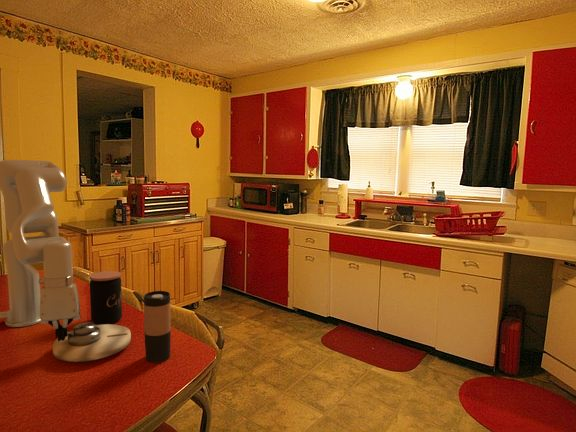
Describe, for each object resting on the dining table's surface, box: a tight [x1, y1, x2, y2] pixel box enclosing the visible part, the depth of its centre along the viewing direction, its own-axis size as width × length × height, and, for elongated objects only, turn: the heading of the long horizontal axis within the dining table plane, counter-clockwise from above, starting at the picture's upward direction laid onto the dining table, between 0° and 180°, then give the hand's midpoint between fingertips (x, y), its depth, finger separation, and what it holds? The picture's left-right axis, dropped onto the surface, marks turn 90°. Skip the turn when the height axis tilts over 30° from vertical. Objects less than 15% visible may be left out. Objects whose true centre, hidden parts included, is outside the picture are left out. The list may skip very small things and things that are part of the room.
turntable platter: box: [52, 324, 132, 363], centre depth 119 cm, size 22×22×2 cm
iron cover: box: [68, 321, 101, 346], centre depth 118 cm, size 9×9×5 cm
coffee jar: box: [89, 270, 123, 325], centre depth 141 cm, size 11×11×18 cm
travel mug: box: [143, 290, 172, 364], centre depth 114 cm, size 8×8×20 cm
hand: (61, 339), depth 116 cm, fingers closed
